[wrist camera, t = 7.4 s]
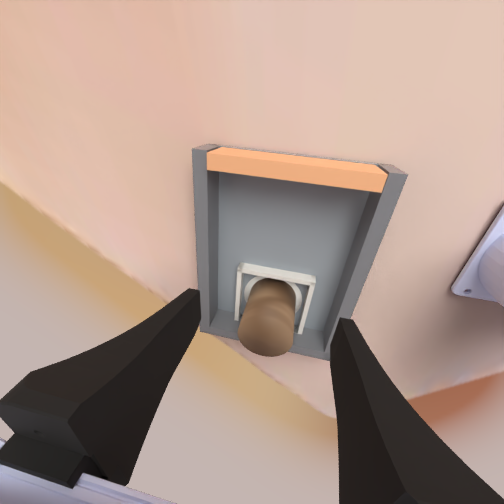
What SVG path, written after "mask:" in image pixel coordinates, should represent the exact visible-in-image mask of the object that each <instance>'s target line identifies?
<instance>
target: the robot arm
mask: <svg viewBox="0 0 504 504" xmlns="http://www.w3.org/2000/svg"><path fill="white" fill-rule="evenodd" d="M466 289H468V290H467V291H465V290H466ZM451 291H452V292H453V293H454V294H456V295H460V296H465V297H471V298H477V299H482V300H488V301H493V302H499V303H500V304H501V305H502V306H503V307H504V206H503V207H502V209H501V211H500V212H499V214H498V215H497V217H496V218H495V220H494V221H493V223H492V225H491V226H490V228H489V229H488V231H487V232H486V234H485V235H484V237H483V239H482V240H481V242H480V243H479V245H478V246H477V248H476V249H475V251H474V253H473V254H472V256H471V257H470V259H469V260H468V262H467V263H466V265H465V267H464V268H463V270H462V271H461V273H460V274H459V276H458V277H457V279H456V281H455V282H454V284H453V285H452V287H451ZM200 321H201V302H200V290H195V289H190V288H189V289H187V290H186V291H185V292H183V293H182V294H181V295H179V296H178V297H177V298H175V299H174V300H173V301H171V302H170V303H169V304H167V305H166V306H165V307H163V308H162V309H161V310H159V311H158V312H156V313H155V314H153V315H152V316H150V317H149V318H147V319H146V320H144V321H143V322H141V323H140V324H138V325H137V326H135V327H133V328H131V329H130V330H128V331H126V332H125V333H123V334H121V335H119V336H117V337H115V338H113V339H111V340H109V341H107V342H105V343H103V344H101V345H99V346H97V347H95V348H92V349H90V350H88V351H85V352H83V353H81V354H79V355H76V356H73V357H71V358H69V359H66V360H63V361H61V362H58V363H55V364H52V365H49V366H47V367H44V368H41V369H38V370H35V371H32V372H30V373H29V374H28V375H27V376H25V377H24V378H23V380H21V381H20V382H19V383H18V384H17V385H16V386H15V387H14V388H13V389H11V390H10V391H9V393H7V394H6V395H5V396H4V397H3V398H2V399H1V400H0V417H1V418H2V420H3V421H4V422H5V423H6V424H7V425H8V426H9V427H10V428H11V429H12V430H13V432H14V433H15V434H13V436H12V437H11V438H10V439H9V440H8V441H5V440H4V439H2V438H0V504H176V503H173V502H170V501H167V500H164V499H161V498H158V497H155V496H152V495H149V494H146V493H143V492H140V491H137V490H134V489H131V488H128V487H125V486H126V485H127V484H128V483H129V481H130V478H131V475H132V472H133V469H134V467H135V464H136V461H137V459H138V456H139V453H140V451H141V448H142V445H143V443H144V440H145V438H146V435H147V433H148V430H149V428H150V425H151V422H152V420H153V418H154V415H155V413H156V411H157V408H158V406H159V403H160V401H161V399H162V397H163V394H164V392H165V390H166V388H167V385H168V383H169V381H170V379H171V377H172V375H173V373H174V372H175V370H176V368H177V366H178V364H179V363H180V361H181V359H182V357H183V355H184V354H185V352H186V350H187V348H188V346H189V345H190V343H191V341H192V339H193V337H194V335H195V333H196V331H197V328H198V326H199V323H200ZM330 368H331V376H332V384H333V392H334V399H335V407H336V415H337V426H338V452H339V453H338V454H339V504H504V499H503V498H502V497H501V496H500V495H498V494H497V493H496V492H495V491H494V490H493V489H492V488H491V487H490V486H489V485H488V484H487V483H485V482H484V481H483V480H482V479H481V478H480V477H479V476H478V475H477V474H476V473H475V472H474V471H473V470H471V469H470V468H469V467H468V466H467V465H466V464H465V463H464V462H463V461H462V460H461V459H460V458H459V457H458V456H457V455H456V454H455V453H454V452H453V451H452V450H451V449H450V448H449V447H448V446H447V445H446V444H445V443H444V442H443V441H442V440H441V439H440V438H439V437H438V436H437V434H435V432H434V431H433V430H432V429H431V428H430V427H429V426H428V425H427V424H426V422H425V421H424V420H423V419H422V418H421V417H420V416H419V415H418V413H417V412H416V411H415V410H414V409H413V408H412V406H411V405H410V404H409V403H408V402H407V400H406V399H405V398H404V397H403V395H402V394H401V393H400V392H399V390H398V389H397V388H396V386H395V385H394V384H393V382H392V381H391V379H390V378H389V377H388V375H387V374H386V372H385V371H384V370H383V368H382V367H381V365H380V364H379V362H378V360H377V359H376V357H375V356H374V354H373V353H372V351H371V350H370V348H369V346H368V345H367V343H366V341H365V340H364V338H363V336H362V334H361V333H360V331H359V329H358V327H357V326H356V324H355V322H354V321H353V320H352V319H346V318H341V317H340V318H339V321H338V324H337V327H336V330H335V333H334V335H333V338H332V341H331V344H330Z"/></svg>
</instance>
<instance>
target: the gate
mask: <svg viewBox="0 0 504 504" xmlns="http://www.w3.org/2000/svg"><path fill="white" fill-rule="evenodd" d="M207 170H212V171H220V172H228V173H235V174H243V175H250V176H258V177H266V178H273V179H281V180H288V181H296V182H304V183H311V184H319V185H326V186H334V187H342V188H349V189H357V190H364V191H372V192H380V193H382V190H383V187H384V184H385V181H386V179H387V176H388V174H386V173H385V172H384V171H382V170H381V169H380V168H379V167H377V166H376V165H372V164H364V163H355V162H347V161H338V160H330V159H321V158H312V157H304V156H295V155H287V154H278V153H270V152H261V151H253V150H244V149H235V148H227V147H221V148H218V149H215V150H213V151H210V152H207Z"/></svg>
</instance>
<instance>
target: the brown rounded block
mask: <svg viewBox="0 0 504 504" xmlns="http://www.w3.org/2000/svg"><path fill="white" fill-rule="evenodd" d="M295 306H296V294H295V291H294V290H293V288H292V287H291V286H290V285H289V284H288V283H286V282H285V281H283V280H278V279H273V278H264V279H261V280H259V281H257V282H256V283H255V284H254V285H253V286H252V288H251V291H250V294H249V297H248V300H247V303H246V306H245V310H244V313H243V316H242V319H241V322H240V325H239V328H238V338H239V340H240V342H241V343H242V344H243V346H244V347H246V348H247V349H248V350H250V351H251V352H253V353H256V354H258V355H262V356H269V357H273V356H279V355H282V354H285V353H286V352H288V351H289V350H290V349H291V347H292V344H293V335H294V320H295Z"/></svg>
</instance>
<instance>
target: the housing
mask: <svg viewBox="0 0 504 504" xmlns="http://www.w3.org/2000/svg"><path fill="white" fill-rule="evenodd" d="M221 147H227V148H235V149H244V150H253V151H261V152H270V153H278V154H287V155H295V156H304V157H312V158H321V159H330V160H338V161H347V162H355V163H364V164H372V165H376V166H377V167H379V168H380V169H381V170H382V171H384V172H385V173H386V174H388V176H387V179H386V181H385V184H384V187H383V190H382V193H380V192H372V191H364V190H357V189H349V188H342V187H334V186H326V185H319V184H311V183H304V182H296V181H288V180H281V179H273V178H266V177H258V176H250V175H243V174H235V173H228V172H220V171H212V170H207V152H210V151H213V150H215V149H218V148H221ZM192 162H193V184H194V207H195V229H196V252H197V274H198V290H200V302H201V321H200V332H204V333H209V334H213V335H218V336H222V337H226V338H231V339H235V340H239V338H238V328H239V325H240V322H241V319H242V316H243V313H244V310H245V306H246V303H247V300H248V297H249V294H250V291H251V288H252V286H253V285H254V284H255V283H256V282H257V281H259V280H261V279H264V278H273V279H278V280H283V281H285V282H286V283H288V284H289V285H290V286H291V287H292V288H293V290H294V291H295V294H296V306H295V320H294V335H293V344H292V347H291V349H290V350H289V351H288V352H292V353H297V354H301V355H305V356H310V357H314V358H318V359H323V360H327V361H330V344H331V341H332V338H333V335H334V333H335V330H336V327H337V324H338V321H339V318H340V317H341V318H346V319H350V318H351V315H352V313H353V311H354V308H355V306H356V303H357V301H358V298H359V296H360V293H361V291H362V288H363V286H364V283H365V281H366V278H367V276H368V273H369V271H370V268H371V266H372V263H373V261H374V258H375V256H376V253H377V251H378V248H379V246H380V243H381V241H382V238H383V236H384V233H385V231H386V228H387V226H388V224H389V221H390V219H391V216H392V214H393V211H394V209H395V206H396V204H397V201H398V199H399V196H400V194H401V191H402V189H403V186H404V184H405V181H406V179H407V176H408V174H406V173H405V172H403V171H401V170H400V169H398V168H397V167H395V166H393V165H386V164H377V163H369V162H360V161H351V160H343V159H334V158H326V157H317V156H308V155H300V154H291V153H283V152H274V151H265V150H257V149H248V148H240V147H231V146H222V145H214V144H206V145H203V146H199V147H196V148H192ZM239 341H240V340H239Z"/></svg>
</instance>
